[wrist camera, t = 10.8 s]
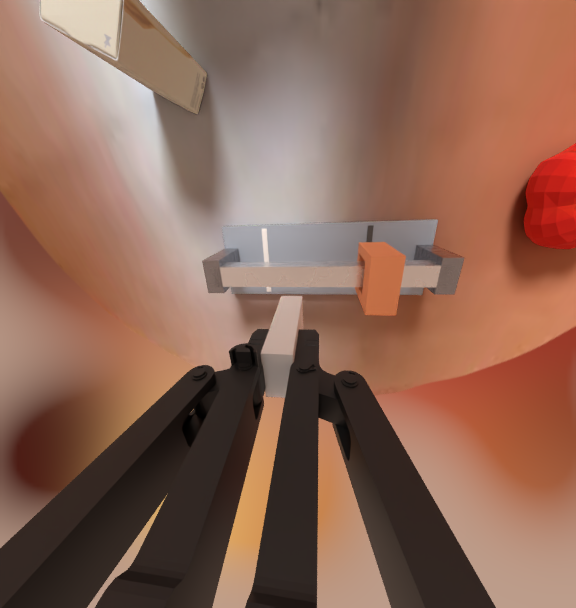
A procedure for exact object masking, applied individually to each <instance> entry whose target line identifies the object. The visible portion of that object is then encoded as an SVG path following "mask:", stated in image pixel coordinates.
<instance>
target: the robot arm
mask: <svg viewBox="0 0 576 608" xmlns="http://www.w3.org/2000/svg"><path fill="white" fill-rule="evenodd" d="M229 354H230V359H231V364H232V366H231V368H230V369H227V370H222V371H217V372H214V369H213V368H212V367H211V366H208V365H202V366H197V367H195V368H193V369H191V370H190V371H189V372H187V373H186V374H185V375H184V376H183V377H182V378H181V379H180V380H179V381H178V382H177V383H176V384H175V385H174V386H173V387H172V388H170V389H169V391H167V392H166V393H165V394H164V395H163V396H162V397H161V398H160V399H159V400H158V401H157V402H156V403H155V404H154V405H152V406H151V407H150V408H149V409H148V410H147V411H146V412H145V413H144V414H143V415H142V416H141V417H140V418H139V419H137V420H136V421H135V422H134V423H133V424H132V425H131V426H130V427H129V428H128V429H127V430H126V431H125V432H124V433H123V434H122V435H120V436H119V438H117V439H116V440H115V441H114V442H113V443H112V444H111V445H110V446H109V447H108V448H107V449H106V450H105V451H104V452H102V453H101V454H100V455H99V456H98V457H97V458H96V459H95V460H94V461H93V462H92V463H91V464H90V465H89V466H88V467H86V468H85V469H84V470H83V471H82V472H81V473H80V474H79V475H78V476H77V477H76V478H75V479H74V480H73V481H72V482H70V484H68V485H67V486H66V487H65V488H64V489H63V490H62V491H61V492H60V493H59V494H58V495H57V496H56V497H55V498H53V499H52V500H51V501H50V502H49V503H48V504H47V505H46V506H45V507H44V508H43V509H42V510H41V511H40V512H39V513H38V514H37V515H35V516H34V517H33V518H32V519H31V520H30V521H29V522H28V523H27V524H26V525H25V526H24V527H23V528H22V529H21V530H19V531H18V532H17V534H15V535H14V536H13V537H12V538H11V539H10V540H9V541H8V542H7V543H6V544H5V545H3V546H2V548H0V608H87V607H88V605H89V604H90V602H91V601H92V600H93V598H94V597H95V595H96V594H97V593H98V591H99V590H100V588H101V587H102V585H103V584H104V582H105V581H106V580H107V578H108V577H109V575H110V574H111V573H112V571H113V570H114V568H115V567H116V566H117V564H118V563H119V561H120V560H121V559H122V557H123V556H124V554H125V553H126V552H127V550H128V549H129V547H130V546H131V545H132V543H133V542H134V540H135V539H136V538H137V536H138V535H139V533H140V532H141V530H142V529H143V528H144V526H145V525H146V523H147V522H148V521H149V519H150V518H151V516H152V515H153V514H154V512H155V511H156V509H157V508H158V506H159V505H160V504H161V502H162V501H163V499H164V498H165V497H166V498H165V500H164V502H163V504H162V506H161V508H160V510H159V512H158V514H157V516H156V518H155V520H154V523H153V524H152V526H151V528H150V530H149V532H148V534H147V536H146V538H145V540H144V542H143V545H142V546H141V548H140V550H139V553H138V555H137V556H136V558H135V560H134V562H133V563H132V565H131V566H130V568H128V570H127V571H125V572H124V573H122V574H121V575H119V576H118V577H117V578H115V579H114V580H113V582H112V583H111V584H110V585H109V586H108V588H107V589H106V590H105V592H104V593H103V595H102V597H101V598H100V600H99V602H98V603H97V605H96V607H95V608H212V606H213V602H214V598H215V594H216V590H217V586H218V582H219V578H220V574H221V571H222V567H223V563H224V559H225V554H226V551H227V547H228V543H229V539H230V535H231V531H232V527H233V523H234V519H235V516H236V512H237V508H238V504H239V500H240V496H241V492H242V488H243V484H244V481H245V477H246V473H247V469H248V465H249V461H250V457H251V453H252V449H253V446H254V441H255V438H256V434H257V430H258V426H259V422H260V418H261V414H262V410H263V406H264V400H263V395H264V392H266V396H267V397H281V398H285V402H284V407H283V413H282V419H281V425H280V431H279V437H278V443H277V449H276V455H275V461H274V467H273V472H272V478H271V485H270V490H269V496H268V502H267V508H266V514H265V520H264V526H263V531H262V538H261V543H260V549H259V555H258V561H257V567H256V573H255V578H254V583H253V587H252V591H251V594H250V596H249V598H248V600H247V603H246V607H245V608H317V525H318V518H317V517H318V418H321V419H324V420H326V421H329V422H332V423H333V428H334V431H335V434H336V437H337V440H338V443H339V446H340V450H341V453H342V456H343V459H344V462H345V465H346V468H347V471H348V474H349V478H350V480H351V484H352V487H353V489H354V493H355V496H356V499H357V502H358V505H359V509H360V512H361V515H362V518H363V521H364V524H365V527H366V530H367V533H368V537H369V539H370V543H371V546H372V549H373V552H374V555H375V558H376V561H377V564H378V568H379V571H380V574H381V577H382V580H383V583H384V586H385V589H386V592H387V596H388V599H389V602H390V605H391V608H496V607H495V605H494V604H493V602H492V600H491V598H490V597H489V595H488V594H487V591H486V590H485V588H484V586H483V585H482V583H481V581H480V579H479V578H478V576H477V574H476V572H475V571H474V569H473V567H472V565H471V564H470V562H469V560H468V558H467V557H466V555H465V553H464V551H463V550H462V548H461V546H460V545H459V543H458V541H457V539H456V537H455V536H454V534H453V532H452V531H451V529H450V527H449V525H448V524H447V522H446V520H445V518H444V517H443V515H442V513H441V511H440V510H439V508H438V506H437V504H436V503H435V501H434V499H433V497H432V496H431V494H430V492H429V491H428V489H427V487H426V485H425V483H424V482H423V480H422V478H421V476H420V475H419V473H418V471H417V469H416V468H415V466H414V464H413V462H412V461H411V459H410V457H409V455H408V454H407V452H406V450H405V449H404V447H403V445H402V443H401V442H400V440H399V438H398V436H397V435H396V433H395V431H394V429H393V428H392V426H391V424H390V422H389V421H388V419H387V417H386V416H385V414H384V412H383V410H382V408H381V407H380V405H379V403H378V402H377V400H376V398H375V396H374V395H373V393H372V391H371V389H370V388H369V386H368V384H367V382H366V381H365V379H364V378H363V377H362V376H361V375H360V374H358V373H357V372H353V371H342V372H339V373H338V374H336V376H335V375H332V374H329V373H327V372H325V371H323V370H322V369H321V367H320V366H319V334H318V333H317V331H316V330H303V301H302V296H281V298H280V301H279V304H278V307H277V309H276V312H275V315H274V318H273V320H272V323H271V326H270V329H257V330H256V331H255V332H254V333H253V334H252V336H251V338H250V340H249V342H248V344H247V343H246V344H239V345H236V346H234V347H233V348H231V350H230V351H229ZM193 409H194V410H193ZM192 410H193V411H192ZM191 411H192V412H191ZM190 412H191V413H190ZM166 495H167V496H166Z"/></svg>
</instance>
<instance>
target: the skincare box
mask: <svg viewBox="0 0 576 608" xmlns="http://www.w3.org/2000/svg"><path fill="white" fill-rule="evenodd" d="M39 16H40V19H41V20H42V21H43V22H44V23H46V24H47V25H49V26H50V27H52V28H54V29H55V30H57V31H58V32H60V33H61V34H63V35H65V36H66V37H68V38H69V39H71V40H73V41H74V42H76V43H77V44H79V45H81V46H82V47H84V48H85V49H87V50H89V51H90V52H92V53H93V54H95V55H96V56H98V57H100V58H101V59H103V60H104V61H106V62H108V63H109V64H111V65H112V66H114V67H116V68H117V69H119V70H120V71H122V72H123V73H125V74H127V75H128V76H130V77H131V78H133V79H135V80H136V81H138V82H139V83H141V84H142V85H144V86H146V87H147V88H149V89H150V90H152V91H154V92H155V93H157V94H159V95H160V96H162V97H164V98H166V99H168V100H169V101H171V102H173V103H175V104H177V105H179V106H181V107H183V108H185V109H186V110H188V111H190V112H193V113H195V114H198V112H199V108H200V104H201V100H202V96H203V92H204V88H205V83H206V78H207V73H206V71H205V70H204V69H203V68H202V67H201V66H200V65H199V64H198V63H197V62H196V61H195V60H194V59H193V58H192V57H191V56H190V54H189V53H188V52H187V51H186V50H185V49H184V48H183V47H182V46H181V45H180V44H179V43H178V42H177V41H176V39H175V38H174V37H173V36H172V35H171V34H170V33H169V32H168V31H167V30H166V29H165V28H164V27H163V26H162V25H161V24H160V22H159V21H158V20H157V19H156V18H155V17H154V16H153V15H152V14H151V13H150V12H149V11H148V10H147V9H146V8H145V6H144V5H143V4H142V3H141V2H140V1H139V0H39Z"/></svg>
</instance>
